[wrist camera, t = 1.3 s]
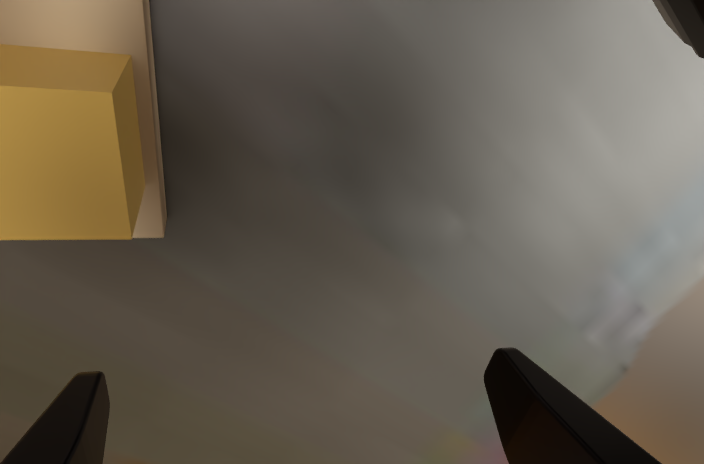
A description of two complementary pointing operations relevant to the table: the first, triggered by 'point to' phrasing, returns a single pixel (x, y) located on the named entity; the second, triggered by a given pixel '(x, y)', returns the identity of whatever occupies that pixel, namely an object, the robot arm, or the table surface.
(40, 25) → the board
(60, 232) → the mustard yellow box
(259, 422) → the table surface
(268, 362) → the table surface
